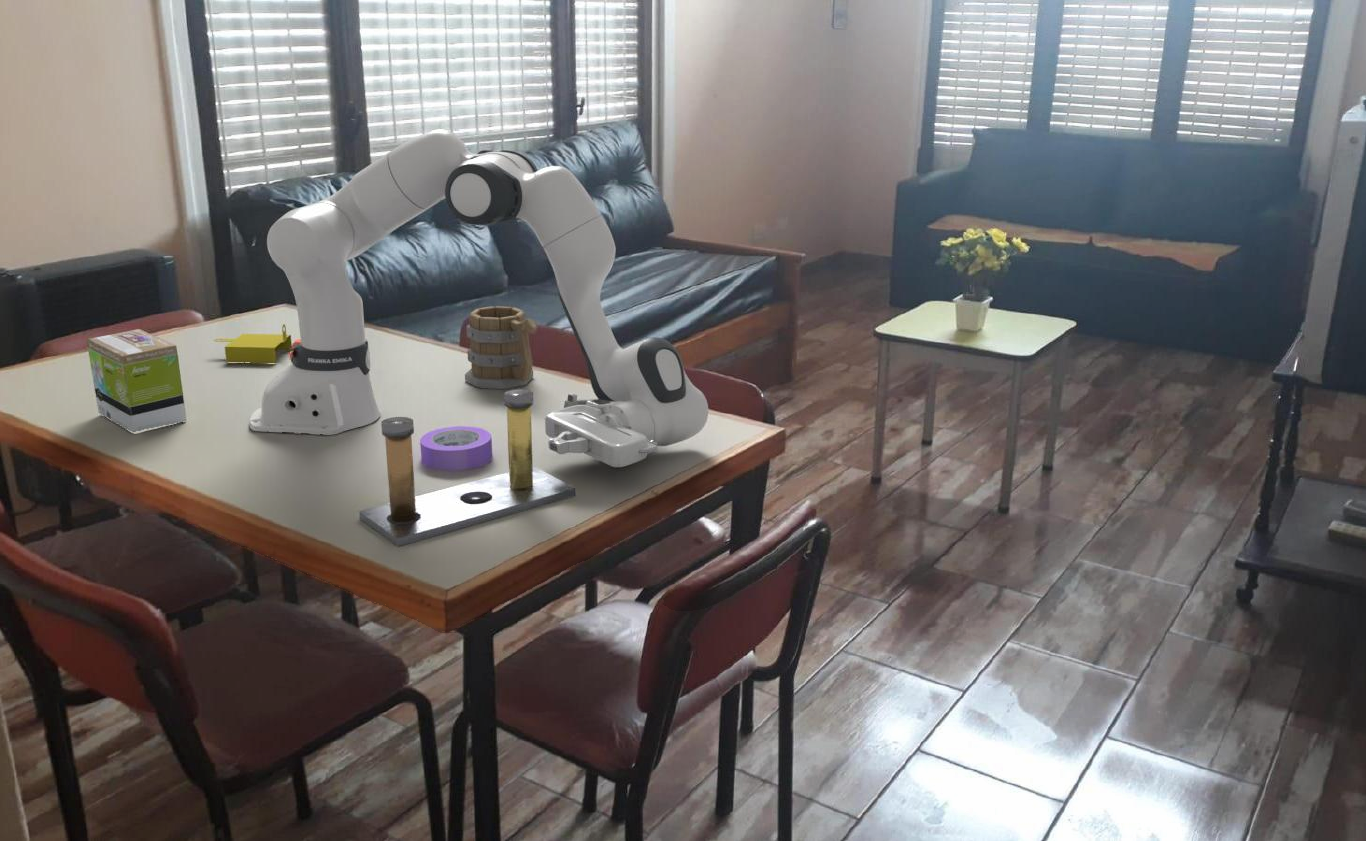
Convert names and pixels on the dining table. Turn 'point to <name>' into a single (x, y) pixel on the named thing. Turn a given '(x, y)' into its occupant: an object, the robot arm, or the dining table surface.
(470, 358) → the tankard
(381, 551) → the dining table surface
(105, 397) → the tea box
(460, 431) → the masking tape
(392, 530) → the plate
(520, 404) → the pin
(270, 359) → the bracket
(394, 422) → the fixed pin
